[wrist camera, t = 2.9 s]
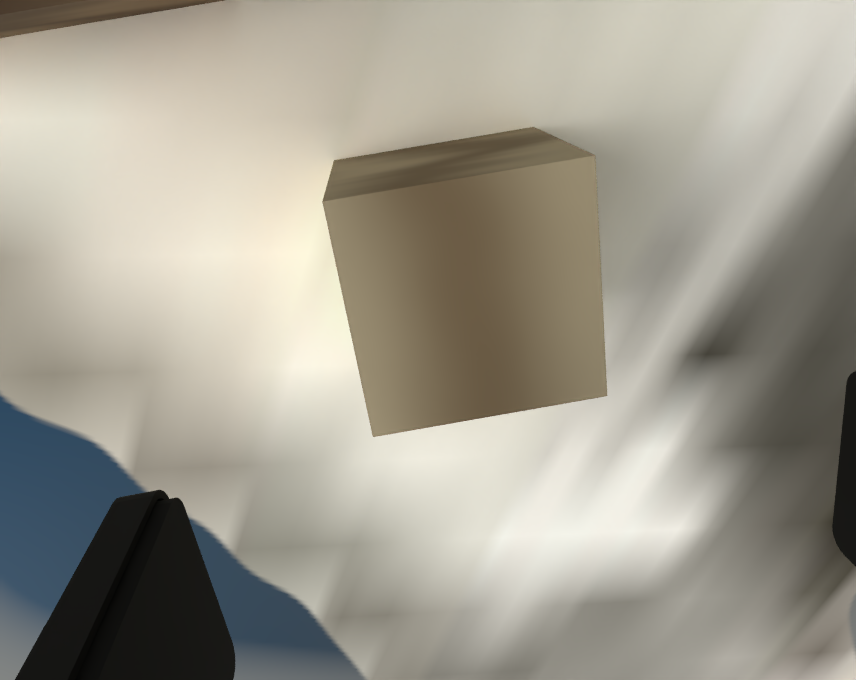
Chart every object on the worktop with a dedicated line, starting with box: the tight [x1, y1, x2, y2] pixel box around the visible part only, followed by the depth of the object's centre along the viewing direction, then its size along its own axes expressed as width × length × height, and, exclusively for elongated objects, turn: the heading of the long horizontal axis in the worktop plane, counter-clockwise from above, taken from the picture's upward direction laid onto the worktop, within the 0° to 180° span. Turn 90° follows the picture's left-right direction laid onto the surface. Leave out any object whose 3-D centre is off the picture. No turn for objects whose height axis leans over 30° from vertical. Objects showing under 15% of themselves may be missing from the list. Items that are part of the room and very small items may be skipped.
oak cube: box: [323, 127, 607, 437], centre depth 19 cm, size 6×6×6 cm
